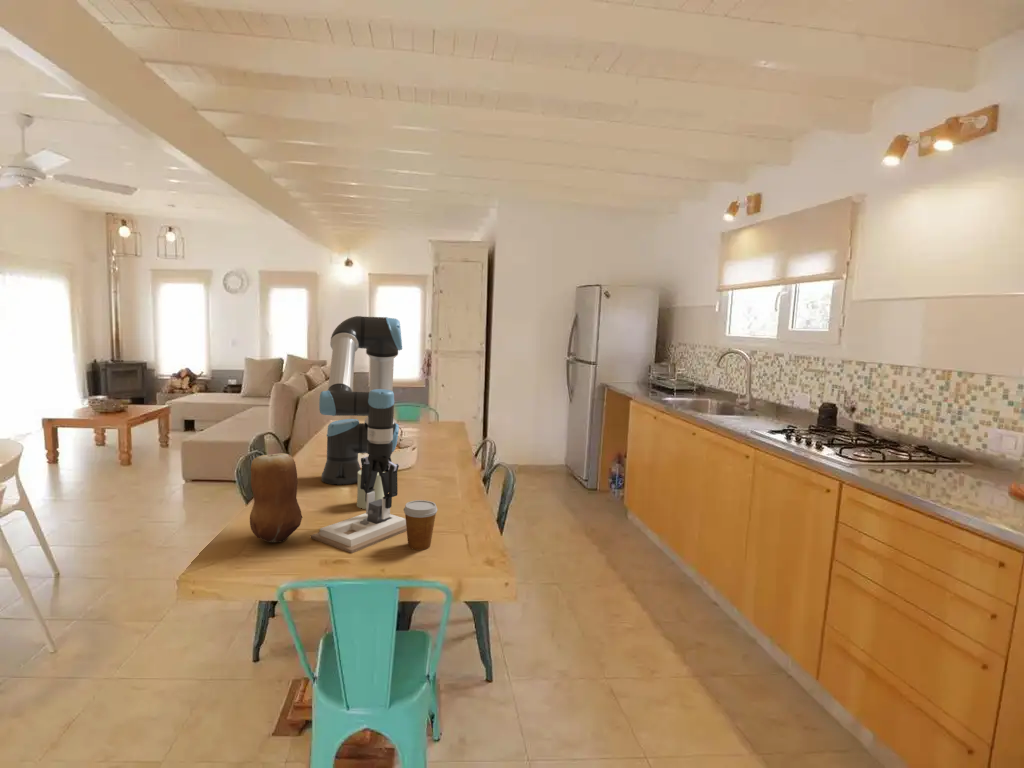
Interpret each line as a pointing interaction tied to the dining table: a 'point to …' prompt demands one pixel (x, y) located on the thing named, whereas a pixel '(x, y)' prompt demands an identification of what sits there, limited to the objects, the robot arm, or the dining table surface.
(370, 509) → the plug
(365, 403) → the robot arm
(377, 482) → the can
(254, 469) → the butternut squash
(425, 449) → the dining table surface
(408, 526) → the disposable coffee cup
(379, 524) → the socket board
